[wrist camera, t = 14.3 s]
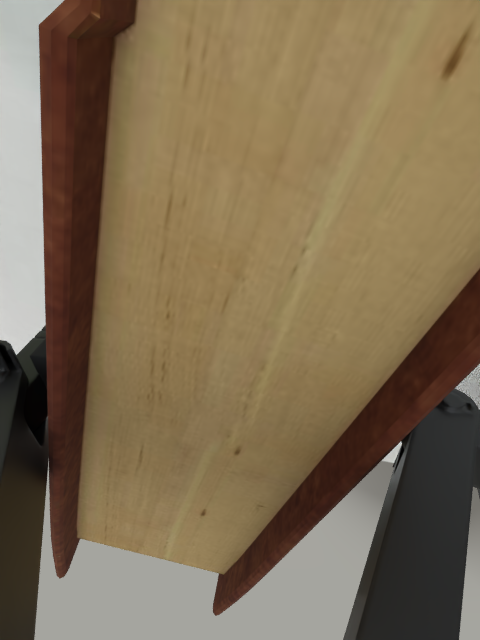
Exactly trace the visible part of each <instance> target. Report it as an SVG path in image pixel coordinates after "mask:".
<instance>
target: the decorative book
mask: <svg viewBox="0 0 480 640" xmlns="http://www.w3.org/2000/svg"><path fill="white" fill-rule="evenodd" d="M39 50H40V94H41V138H42V182H43V226H44V269H45V313H46V357H47V401H48V445H49V489H50V523H51V541H52V549H53V557H54V562H55V569H56V573H57V576H58V577H59V578H62V577H64V576H65V574H66V573H67V571H68V569H69V567H70V564H71V561H72V559H73V556H74V553H75V551H76V548H77V545H78V543H79V540H80V539H85V540H88V541H92V542H97V543H100V544H104V545H108V546H112V547H117V548H120V549H124V550H129V551H132V552H136V553H140V554H144V555H149V556H152V557H156V558H160V559H165V560H168V561H172V562H176V563H180V564H184V565H188V566H192V567H196V568H200V569H204V570H208V571H212V572H216V573H219V576H218V582H217V587H216V593H215V598H214V603H213V613H214V614H215V615H219V614H221V613H222V612H223V611H225V610H226V609H227V608H229V607H230V606H231V605H232V604H234V603H235V602H236V601H237V600H239V599H240V598H241V597H242V596H243V595H244V594H246V593H247V592H248V591H249V590H250V589H251V588H252V587H253V586H254V585H256V584H257V582H259V581H260V580H261V579H262V578H263V577H264V576H265V575H266V574H267V573H268V572H269V571H270V570H271V569H272V568H273V567H274V566H275V565H276V564H277V563H278V562H279V561H280V560H281V559H282V558H283V557H284V556H285V555H286V554H287V553H288V552H289V551H290V550H291V549H292V548H293V547H294V546H295V545H297V544H298V543H299V541H300V540H302V539H303V538H304V536H306V535H307V534H308V532H310V531H311V530H312V529H313V528H314V527H315V525H317V524H318V523H319V521H321V520H322V519H323V518H324V517H325V516H326V515H327V514H328V513H329V512H330V511H331V510H332V509H333V508H334V507H335V506H336V505H337V504H338V503H339V502H340V501H341V500H342V499H343V498H344V497H345V496H346V495H347V494H348V493H349V492H350V491H351V490H352V489H353V488H354V487H355V486H356V485H357V484H358V483H359V482H360V481H361V480H362V479H363V478H364V477H365V476H366V475H367V474H368V473H369V472H370V471H371V470H372V469H373V468H374V467H375V466H376V465H377V464H378V463H379V462H380V461H381V460H382V459H383V458H384V457H385V456H386V455H387V454H388V453H389V452H390V451H392V450H393V449H394V448H395V447H396V446H397V445H398V444H399V443H400V442H401V441H402V440H403V439H404V438H405V437H406V436H407V435H408V434H409V433H410V432H411V431H412V430H413V429H414V428H415V427H416V426H417V425H418V424H419V423H420V422H421V421H422V420H423V419H424V418H425V417H426V416H427V415H428V414H429V413H430V412H431V411H432V410H433V409H434V408H435V407H436V406H437V405H438V404H439V403H440V402H441V401H442V400H443V399H444V398H445V397H446V396H447V395H448V394H449V393H450V392H451V391H452V390H453V389H454V388H455V387H456V386H457V385H458V384H459V383H460V382H461V381H462V380H463V379H464V378H465V377H466V376H468V375H469V374H470V373H471V372H472V371H473V370H474V369H475V368H476V367H477V366H478V365H479V364H480V0H65V1H64V2H62V3H61V4H60V5H59V6H58V7H57V8H56V9H55V10H54V11H53V12H52V13H51V14H50V15H49V16H48V17H47V18H46V19H45V20H44V21H43V22H42V23H41V24H40V25H39Z"/></svg>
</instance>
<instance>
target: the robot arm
mask: <svg viewBox="0 0 480 640" xmlns="http://www.w3.org/2000/svg"><path fill="white" fill-rule="evenodd" d="M48 459H49V445H48V401H47V357H46V325H45V326H44V327H43V329H42V331H40V332H39V333H38V334H37V335H36V336H35V338H33V339H32V340H31V341H30V342H29V343H28V344H27V345H26V346H25V347H24V348H23V349H22V350H21V351H20V352H19V353H18V354H17V355H16V354H15V352H14V350H13V348H12V346H11V344H9V343H8V342H7V341H1V340H0V640H34V635H35V622H36V610H37V597H38V584H39V572H40V558H41V546H42V534H43V522H44V509H45V496H46V483H47V471H48ZM393 467H394V470H393V474H392V478H391V481H390V484H389V487H388V491H387V494H386V497H385V501H384V504H383V507H382V511H381V514H380V517H379V521H378V524H377V527H376V531H375V534H374V538H373V541H372V544H371V548H370V551H369V555H368V558H367V561H366V565H365V568H364V571H363V575H362V578H361V581H360V585H359V589H358V592H357V595H356V598H355V602H354V605H353V608H352V612H351V615H350V619H349V622H348V626H347V629H346V632H345V635H344V639H343V640H459V632H460V621H461V610H462V599H463V588H464V577H465V566H466V555H467V545H468V544H467V543H468V534H469V522H470V511H471V501H472V490H473V487H476V488H477V489H478V493H479V498H480V410H479V409H478V406H477V405H476V404H475V402H474V401H473V400H472V399H471V398H470V397H468V396H467V395H466V394H465V393H463V392H461V391H459V390H457V389H455V388H454V389H453V390H452V391H451V392H450V393H449V394H448V395H447V396H446V397H445V398H444V399H443V400H442V401H441V402H440V403H439V404H438V405H437V406H436V407H435V408H434V409H433V410H432V411H431V412H430V413H429V414H428V415H427V416H426V417H425V418H424V419H423V420H422V421H421V422H420V423H419V424H418V425H417V426H416V427H415V428H414V429H413V430H412V431H411V432H410V433H409V434H408V435H407V436H406V437H405V438H404V439H403V440H402V446H401V448H400V450H399V453H398V455H397V458H396V460H395V463H394V465H393Z"/></svg>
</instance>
